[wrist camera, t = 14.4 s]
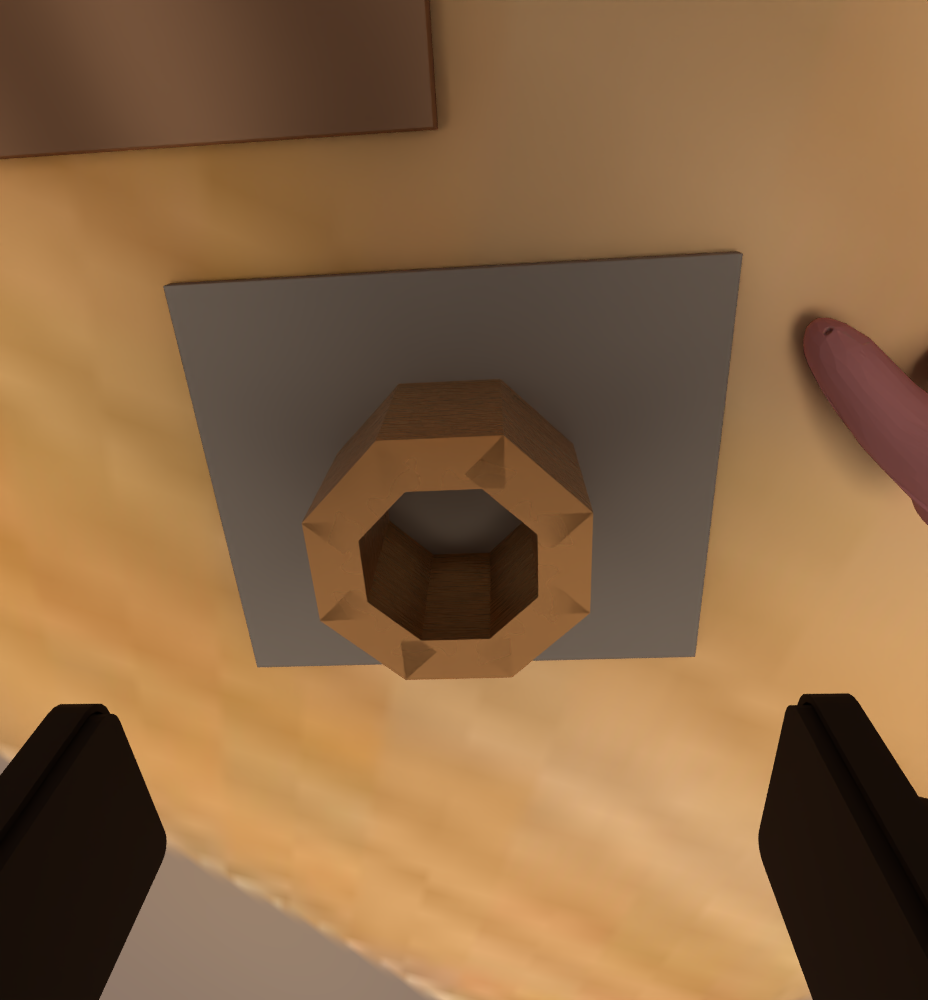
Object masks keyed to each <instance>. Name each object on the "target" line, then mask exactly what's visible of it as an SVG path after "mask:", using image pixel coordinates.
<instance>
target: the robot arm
mask: <svg viewBox="0 0 928 1000" xmlns="http://www.w3.org/2000/svg"><path fill="white" fill-rule="evenodd" d="M758 839H759V850H760V854H761V858H762V862H763V865H764V867H765V870H766V873H767V876H768V878H769V881H770V884H771V887H772V889H773V892H774V895H775V898H776V900H777V903H778V906H779V908H780V911H781V914H782V917H783V919H784V922H785V925H786V928H787V930H788V933H789V936H790V938H791V941H792V944H793V947H794V949H795V952H796V955H797V958H798V960H799V963H800V966H801V969H802V971H803V974H804V977H805V979H806V982H807V985H808V988H809V990H810V993H811V996H812V999H813V1000H928V799H927V798H922V797H918V795H917V793H916V792H915V790H914V789H913V787H912V786H911V784H910V782H909V781H908V779H907V778H906V776H905V775H904V773H903V771H902V770H901V768H900V767H899V765H898V764H897V762H896V761H895V759H894V757H893V756H892V754H891V753H890V751H889V750H888V748H887V746H886V745H885V743H884V742H883V740H882V739H881V737H880V735H879V734H878V732H877V731H876V729H875V728H874V726H873V724H872V723H871V721H870V720H869V718H868V717H867V715H866V714H865V712H864V710H863V709H862V707H861V706H860V704H859V703H858V701H857V700H856V699H855V698H854V697H853V696H852V695H850V694H849V693H848V694H803V695H802V696H801V697H800V699H799V702H798V705H789V706H788V707H787V709H786V712H785V716H784V721H783V725H782V730H781V734H780V739H779V743H778V748H777V752H776V757H775V761H774V766H773V770H772V775H771V779H770V784H769V788H768V793H767V797H766V802H765V806H764V811H763V815H762V820H761V824H760V829H759V836H758ZM165 851H166V834H165V831H164V828H163V826H162V823H161V821H160V818H159V816H158V813H157V811H156V808H155V806H154V804H153V801H152V799H151V796H150V794H149V791H148V789H147V786H146V784H145V781H144V779H143V777H142V774H141V772H140V769H139V767H138V764H137V762H136V759H135V757H134V754H133V752H132V750H131V747H130V745H129V742H128V740H127V737H126V735H125V732H124V730H123V727H122V725H121V723H120V720H119V719H118V717H117V716H116V715H114V714H110V712H109V711H108V709H107V707H106V706H104V705H102V704H60V705H58V706H56V707H54V708H53V709H52V710H51V711H50V712H49V713H48V714H47V716H46V717H45V718H44V720H43V721H42V722H41V723H40V725H39V726H38V727H37V729H36V730H35V731H34V733H33V734H32V735H31V736H30V738H29V739H28V740H27V742H26V743H25V744H24V745H23V747H22V748H21V749H20V751H19V752H18V753H17V754H16V756H15V757H14V758H13V760H12V761H11V762H10V764H9V765H8V766H7V767H6V769H5V770H4V771H3V773H2V774H1V775H0V1000H99V998H100V996H101V994H102V992H103V990H104V987H105V985H106V983H107V981H108V979H109V977H110V974H111V972H112V970H113V968H114V966H115V963H116V961H117V959H118V957H119V955H120V953H121V950H122V948H123V946H124V944H125V942H126V939H127V937H128V935H129V933H130V931H131V929H132V926H133V924H134V922H135V920H136V918H137V915H138V913H139V911H140V909H141V907H142V905H143V902H144V900H145V898H146V896H147V894H148V892H149V889H150V887H151V885H152V883H153V880H154V879H155V876H156V874H157V872H158V870H159V868H160V865H161V863H162V860H163V858H164V855H165Z"/></svg>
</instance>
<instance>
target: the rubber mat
mask: <svg viewBox="0 0 928 1000" xmlns="http://www.w3.org/2000/svg"><path fill="white" fill-rule="evenodd" d="M742 256H743V254H742V253H740V252H720V253H703V254H685V255H667V256H649V257H632V258H614V259H596V260H578V261H561V262H543V263H525V264H507V265H490V266H472V267H454V268H436V269H419V270H401V271H383V272H365V273H348V274H330V275H312V276H294V277H277V278H259V279H241V280H223V281H206V282H188V283H170V284H168V285H165V286H163V287H164V291H165V295H166V299H167V303H168V307H169V311H170V315H171V319H172V323H173V327H174V331H175V335H176V340H177V344H178V348H179V352H180V356H181V360H182V364H183V368H184V372H185V376H186V380H187V384H188V388H189V392H190V396H191V400H192V404H193V408H194V412H195V416H196V420H197V424H198V428H199V433H200V437H201V441H202V445H203V449H204V453H205V457H206V461H207V465H208V469H209V473H210V477H211V481H212V485H213V489H214V493H215V497H216V501H217V505H218V509H219V513H220V517H221V522H222V526H223V530H224V534H225V538H226V542H227V546H228V550H229V554H230V558H231V562H232V566H233V570H234V574H235V578H236V582H237V586H238V590H239V594H240V598H241V602H242V606H243V610H244V615H245V619H246V623H247V627H248V631H249V635H250V639H251V643H252V647H253V651H254V655H255V659H256V663H257V667H291V666H332V665H373V664H382V663H381V662H379V661H378V660H376V659H375V658H373V657H372V656H370V655H369V654H368V653H366V652H365V651H363V650H362V649H360V648H359V647H357V646H356V645H355V644H353V643H352V642H350V641H349V640H347V639H346V638H344V637H343V636H341V635H340V634H339V633H337V632H336V631H334V630H333V629H331V628H330V627H328V626H327V625H326V624H324V623H323V622H321V621H320V618H319V613H318V607H317V602H316V597H315V591H314V586H313V581H312V575H311V570H310V565H309V559H308V554H307V549H306V543H305V538H304V533H303V528H302V522H303V520H304V518H305V516H306V514H307V512H308V510H309V508H310V506H311V504H312V502H313V500H314V498H315V496H316V494H317V492H318V490H319V488H320V486H321V485H322V483H323V481H324V479H325V477H326V475H327V473H328V471H329V469H330V467H331V465H332V463H333V461H334V459H335V457H336V455H337V453H338V452H339V451H340V450H341V449H342V448H343V447H344V446H345V444H346V443H347V442H348V441H349V440H350V439H351V438H352V436H353V435H354V434H355V433H356V432H357V431H358V430H359V428H360V427H361V426H362V425H363V424H364V423H365V422H366V420H367V419H368V418H369V417H370V416H371V415H372V414H373V412H374V411H375V410H376V409H377V408H378V407H379V406H380V404H381V403H382V402H383V401H384V400H385V399H386V398H387V396H388V395H389V394H390V393H391V392H392V391H393V390H394V388H395V387H396V386H397V385H398V384H405V383H426V382H447V381H468V380H489V379H501V380H502V381H503V382H505V383H506V384H507V385H508V386H509V387H510V388H511V389H512V390H513V391H515V392H516V393H517V394H518V395H519V396H520V397H521V398H522V399H524V400H525V401H526V402H527V403H528V404H529V405H530V406H531V407H533V408H534V409H535V410H536V411H537V412H538V413H539V414H540V415H541V416H543V417H544V418H545V419H546V420H547V421H548V422H549V423H550V424H552V425H553V426H554V427H555V428H556V429H557V430H558V431H559V432H561V433H562V434H563V435H564V436H565V437H566V438H567V439H568V440H569V441H571V442H572V443H573V446H574V449H575V452H576V456H577V459H578V463H579V466H580V469H581V473H582V476H583V480H584V483H585V486H586V490H587V493H588V497H589V500H590V503H591V507H592V510H593V535H592V569H591V602H590V614H588V615H587V616H586V617H585V618H584V619H582V620H581V621H580V622H579V623H577V624H576V625H575V626H574V627H573V628H571V629H570V630H569V631H568V632H567V633H565V634H564V635H563V636H562V637H560V638H559V639H558V640H557V641H556V642H554V643H553V644H552V645H551V646H549V647H548V648H547V649H546V650H545V651H543V652H542V653H541V654H540V655H539V656H537V657H536V658H535V659H534V660H532V661H539V660H580V659H622V658H663V657H695V653H696V644H697V636H698V628H699V619H700V611H701V602H702V594H703V585H704V577H705V568H706V560H707V552H708V543H709V535H710V526H711V518H712V509H713V501H714V492H715V484H716V475H717V467H718V459H719V450H720V442H721V433H722V425H723V416H724V408H725V399H726V391H727V383H728V374H729V366H730V357H731V349H732V340H733V332H734V323H735V315H736V306H737V298H738V290H739V281H740V273H741V264H742ZM388 513H389V521H390V522H392V523H393V524H394V525H396V526H397V527H398V528H399V529H401V530H402V531H403V532H405V533H406V534H407V535H409V536H410V537H411V538H412V539H414V540H415V541H416V542H418V543H419V544H420V545H422V546H423V547H424V548H426V549H427V550H428V551H429V552H431V553H432V554H433V555H434V554H463V553H490V552H491V551H492V550H493V549H494V548H495V547H496V546H497V545H498V544H499V543H501V542H502V541H503V540H504V539H505V538H506V537H507V536H508V535H509V534H510V533H511V532H512V531H513V530H515V529H516V528H517V527H518V526H519V525H520V524H521V523H522V521H520V520H519V519H518V518H517V517H516V516H514V515H513V514H512V513H511V512H509V511H508V510H507V509H506V508H505V507H503V506H502V505H501V504H500V503H499V502H497V501H496V500H495V499H494V498H492V497H491V496H490V495H489V494H488V493H486V492H485V491H484V490H483V489H467V490H441V491H415V492H405V493H404V494H403V495H402V496H401V497H400V498H399V499H398V500H397V501H396V502H395V503H394V504H393V505H392V506H391V507H390V508H389V509H388Z"/></svg>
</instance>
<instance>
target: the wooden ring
mask: <svg viewBox="0 0 928 1000" xmlns="http://www.w3.org/2000/svg"><path fill="white" fill-rule="evenodd" d="M467 489H483V490H484V491H485V492H486V493H488V494H489V495H490V496H491V497H492V498H494V499H495V500H496V501H497V502H499V503H500V504H501V505H502V506H503V507H505V508H506V509H507V510H508V511H509V512H511V513H512V514H513V515H514V516H516V517H517V518H518V519H519V520H520V521H522V523H521V524H520V525H519V526H518V527H517V528H516V529H515V530H513V531H512V532H511V533H510V534H509V535H508V536H507V537H506V538H505V539H504V540H503V541H502V542H501V543H499V544H498V545H497V546H496V547H495V548H494V549H493V550H492V551H491V552H490V553H463V554H434V555H433V554H432V553H431V552H429V551H428V550H427V549H426V548H424V547H423V546H422V545H420V544H419V543H418V542H416V541H415V540H414V539H412V538H411V537H410V536H409V535H407V534H406V533H405V532H403V531H402V530H401V529H399V528H398V527H397V526H396V525H394V524H393V523H392V522H390V521H389V513H388V509H389V508H390V507H391V506H392V505H393V504H394V503H395V502H396V501H397V500H398V499H399V498H400V497H401V496H402V495H403V494H404V493H405V492H415V491H441V490H467ZM302 528H303V533H304V538H305V543H306V549H307V554H308V559H309V565H310V570H311V575H312V581H313V586H314V591H315V597H316V602H317V607H318V613H319V618H320V621H321V622H323V623H324V624H326V625H327V626H328V627H330V628H331V629H333V630H334V631H336V632H337V633H339V634H340V635H341V636H343V637H344V638H346V639H347V640H349V641H350V642H352V643H353V644H355V645H356V646H357V647H359V648H360V649H362V650H363V651H365V652H366V653H368V654H369V655H370V656H372V657H373V658H375V659H376V660H378V661H379V662H381V663H382V664H384V665H385V666H386V667H388V668H389V669H391V670H392V671H394V672H395V673H397V674H398V675H399V676H401V677H402V678H404V679H405V680H417V679H460V678H503V677H513V676H514V675H515V674H517V673H518V672H519V671H520V670H521V669H523V668H524V667H525V666H526V665H528V664H529V663H530V662H531V661H532V660H534V659H535V658H536V657H537V656H539V655H540V654H541V653H542V652H543V651H545V650H546V649H547V648H548V647H549V646H551V645H552V644H553V643H554V642H556V641H557V640H558V639H559V638H560V637H562V636H563V635H564V634H565V633H567V632H568V631H569V630H570V629H571V628H573V627H574V626H575V625H576V624H577V623H579V622H580V621H581V620H582V619H584V618H585V617H586V616H587V615H588V614H590V602H591V569H592V535H593V510H592V507H591V503H590V500H589V497H588V493H587V490H586V486H585V483H584V480H583V476H582V473H581V469H580V466H579V463H578V459H577V456H576V452H575V449H574V446H573V443H572V442H571V441H569V440H568V439H567V438H566V437H565V436H564V435H563V434H562V433H561V432H559V431H558V430H557V429H556V428H555V427H554V426H553V425H552V424H550V423H549V422H548V421H547V420H546V419H545V418H544V417H543V416H541V415H540V414H539V413H538V412H537V411H536V410H535V409H534V408H533V407H531V406H530V405H529V404H528V403H527V402H526V401H525V400H524V399H522V398H521V397H520V396H519V395H518V394H517V393H516V392H515V391H513V390H512V389H511V388H510V387H509V386H508V385H507V384H506V383H505V382H503V381H502V380H501V379H489V380H468V381H447V382H426V383H405V384H398V385H397V386H396V387H395V388H394V390H393V391H392V392H391V393H390V394H389V395H388V396H387V398H386V399H385V400H384V401H383V402H382V403H381V404H380V406H379V407H378V408H377V409H376V410H375V411H374V412H373V414H372V415H371V416H370V417H369V418H368V419H367V420H366V422H365V423H364V424H363V425H362V426H361V427H360V428H359V430H358V431H357V432H356V433H355V434H354V435H353V436H352V438H351V439H350V440H349V441H348V442H347V443H346V444H345V446H344V447H343V448H342V449H341V450H340V451H339V452H338V453H337V455H336V457H335V459H334V461H333V463H332V465H331V467H330V469H329V471H328V473H327V475H326V477H325V479H324V481H323V483H322V485H321V486H320V488H319V490H318V492H317V494H316V496H315V498H314V500H313V502H312V504H311V506H310V508H309V510H308V512H307V514H306V516H305V518H304V520H303V522H302Z"/></svg>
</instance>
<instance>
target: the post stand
mask: <svg viewBox="0 0 928 1000" xmlns="http://www.w3.org/2000/svg"><path fill="white" fill-rule="evenodd" d="M437 129H438V123H437V108H436V93H435V78H434V63H433V48H432V32H431V17H430V2H429V0H0V159H8V158H23V157H38V156H53V155H67V154H82V153H97V152H112V151H127V150H141V149H156V148H171V147H186V146H200V145H215V144H230V143H245V142H259V141H274V140H289V139H304V138H319V137H333V136H348V135H363V134H378V133H392V132H407V131H422V130H437Z"/></svg>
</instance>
